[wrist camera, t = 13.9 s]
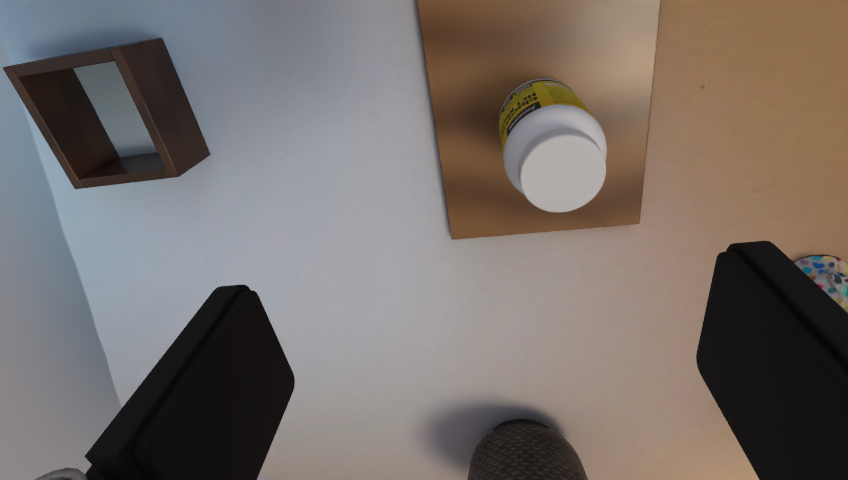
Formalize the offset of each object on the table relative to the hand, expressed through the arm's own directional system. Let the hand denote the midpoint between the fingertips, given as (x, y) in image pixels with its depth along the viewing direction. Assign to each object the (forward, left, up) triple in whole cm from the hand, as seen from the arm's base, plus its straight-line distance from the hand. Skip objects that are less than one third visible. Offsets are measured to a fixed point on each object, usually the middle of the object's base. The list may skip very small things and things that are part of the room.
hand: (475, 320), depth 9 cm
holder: (-1, -28, -28) cm, 40 cm away
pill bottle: (+4, +4, -28) cm, 28 cm away
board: (+4, +5, -28) cm, 29 cm away
